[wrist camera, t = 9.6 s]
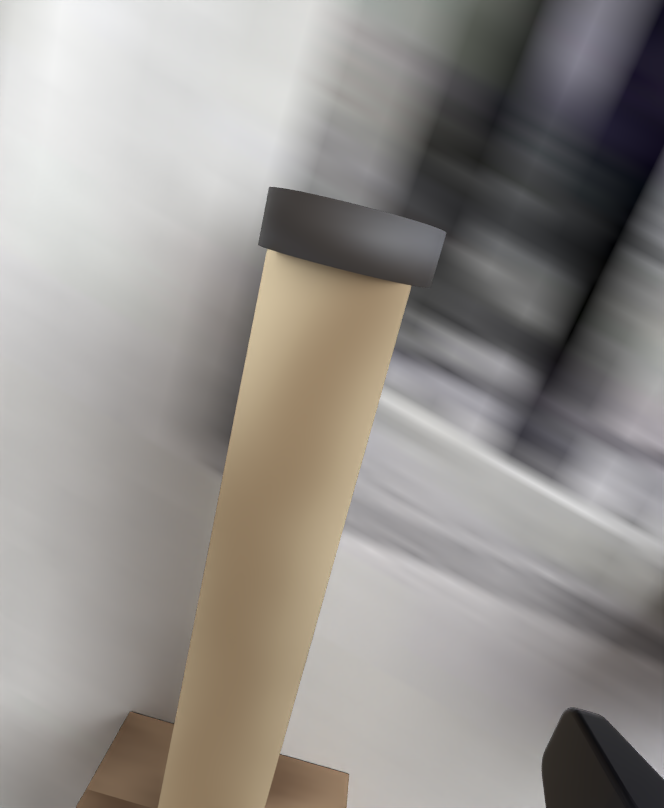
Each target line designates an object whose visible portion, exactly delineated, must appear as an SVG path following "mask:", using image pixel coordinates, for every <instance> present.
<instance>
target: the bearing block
mask: <svg viewBox="0 0 664 808" xmlns="http://www.w3.org/2000/svg"><path fill="white" fill-rule="evenodd" d="M173 728H174V724H172V723H168V722H165V721H161V720H158V719H154V718H151V717H147V716H144V715H140V714H137V713H134V712H129V714H128V716H127V718H126V719H125V721H124V723H123V725H122V726H121V728H120V730H119V732H118V734H117V735H116V737H115V739H114V741H113V742H112V744H111V746H110V748H109V750H108V751H107V753H106V755H105V757H104V758H103V760H102V762H101V764H100V765H99V767H98V769H97V771H96V773H95V774H94V776H93V778H92V780H91V781H90V783H89V785H88V787H87V789H86V790H85V792H84V794H83V796H82V797H81V799H80V801H79V803H78V804H77V806H76V808H158V805H159V799H160V794H161V789H162V784H163V779H164V774H165V769H166V764H167V759H168V753H169V748H170V743H171V738H172V733H173ZM348 781H349V774H346V773H343V772H339V771H336V770H332V769H329V768H325V767H322V766H319V765H315V764H312V763H308V762H305V761H301V760H298V759H294V758H291V757H287V756H284V755H279V758H278V762H277V766H276V769H275V773H274V776H273V780H272V783H271V787H270V790H269V794H268V798H267V801H266V805H265V808H346V807H347V794H348Z"/></svg>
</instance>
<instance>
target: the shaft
mask: <svg viewBox="0 0 664 808" xmlns="http://www.w3.org/2000/svg"><path fill="white" fill-rule="evenodd" d="M445 235H446V232H445V231H443V230H441V229H438V228H435V227H433V226H430V225H427V224H424V223H421V222H417V221H414V220H411V219H407V218H404V217H401V216H397V215H394V214H390V213H386V212H383V211H379V210H375V209H372V208H368V207H364V206H360V205H356V204H352V203H348V202H344V201H340V200H336V199H332V198H327V197H323V196H319V195H314V194H310V193H305V192H300V191H295V190H290V189H284V188H277V187H269V190H268V196H267V201H266V206H265V211H264V217H263V222H262V227H261V232H260V238H259V243H258V245H259V246H262V247H264V248H267V253H266V258H265V263H264V268H263V273H262V278H261V283H260V288H259V293H258V299H257V304H256V309H255V314H254V319H253V324H252V329H251V334H250V339H249V345H248V350H247V355H246V360H245V365H244V370H243V375H242V380H241V385H240V391H239V396H238V401H237V406H236V411H235V416H234V421H233V426H232V431H231V437H230V442H229V447H228V452H227V457H226V462H225V467H224V472H223V477H222V483H221V488H220V493H219V498H218V503H217V508H216V513H215V518H214V523H213V529H212V534H211V539H210V544H209V549H208V554H207V559H206V564H205V569H204V575H203V580H202V585H201V590H200V595H199V600H198V605H197V610H196V615H195V621H194V626H193V631H192V636H191V641H190V646H189V651H188V656H187V661H186V667H185V672H184V677H183V682H182V687H181V692H180V697H179V702H178V707H177V713H176V718H175V723H174V728H173V733H172V738H171V743H170V748H169V753H168V759H167V764H166V769H165V774H164V779H163V784H162V789H161V794H160V799H159V805H158V808H265V805H266V801H267V798H268V794H269V790H270V787H271V783H272V780H273V776H274V773H275V769H276V766H277V762H278V758H279V755H280V751H281V748H282V744H283V741H284V737H285V734H286V730H287V726H288V723H289V719H290V716H291V712H292V709H293V705H294V702H295V698H296V694H297V691H298V687H299V684H300V680H301V677H302V673H303V670H304V666H305V662H306V659H307V655H308V652H309V648H310V645H311V641H312V638H313V634H314V630H315V627H316V623H317V620H318V616H319V613H320V609H321V606H322V602H323V598H324V595H325V591H326V588H327V584H328V581H329V577H330V573H331V570H332V566H333V563H334V559H335V556H336V552H337V549H338V545H339V541H340V538H341V534H342V531H343V527H344V524H345V520H346V517H347V513H348V509H349V506H350V502H351V499H352V495H353V492H354V488H355V485H356V481H357V477H358V474H359V470H360V467H361V463H362V460H363V456H364V453H365V449H366V445H367V442H368V438H369V435H370V431H371V428H372V424H373V421H374V417H375V413H376V410H377V406H378V403H379V399H380V396H381V392H382V389H383V385H384V381H385V378H386V374H387V371H388V367H389V364H390V360H391V357H392V353H393V349H394V346H395V342H396V339H397V335H398V332H399V328H400V325H401V321H402V317H403V314H404V310H405V307H406V303H407V300H408V296H409V292H410V289H411V286H417V287H423V288H430V287H431V283H432V280H433V277H434V273H435V270H436V266H437V263H438V259H439V256H440V253H441V249H442V246H443V242H444V239H445Z"/></svg>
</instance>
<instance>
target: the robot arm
mask: <svg viewBox="0 0 664 808" xmlns="http://www.w3.org/2000/svg"><path fill="white" fill-rule="evenodd" d="M542 779H543V787H544V795H545V803H546V808H664V779H663V778H662V777H661V776H660V775H659V774H658V773H657V772H656V771H655V770H654V769H653V768H652V767H651V766H650V765H649V764H648V763H647V761H646V760H645V759H644V758H643V757H642V756H641V755H640V754H639V753H638V752H637V751H636V750H635V749H634V748H633V747H632V746H631V745H630V744H629V743H628V742H627V741H626V739H625V738H624V737H623V736H622V735H621V734H620V733H619V732H618V731H617V730H616V729H615V728H614V727H613V726H612V725H611V724H610V723H609V722H608V721H607V720H606V719H605V718H604V717H603V716H601V715H599V714H596V713H592V712H589V711H585V710H582V709H578V708H568V709H567V710H565V711H564V713H563V714H562V716H561V718H560V720H559V722H558V724H557V726H556V728H555V730H554V733H553V735H552V737H551V739H550V741H549V743H548V745H547V747H546V749H545V752H544V755H543V759H542Z"/></svg>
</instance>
